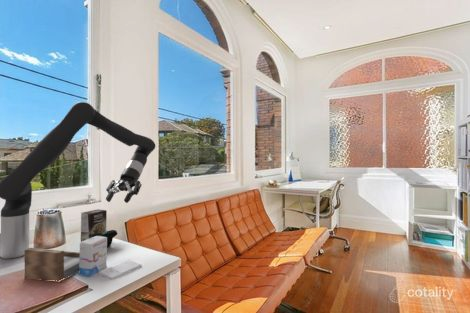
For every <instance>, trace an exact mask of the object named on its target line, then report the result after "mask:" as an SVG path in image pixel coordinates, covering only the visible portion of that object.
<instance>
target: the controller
mask: <svg viewBox="0 0 470 313" xmlns="http://www.w3.org/2000/svg"><path fill="white" fill-rule="evenodd" d="M98 231H99V230H94V231H93V232H95V233H93V234H92V235H90V236H89V238H92V237H95V236H102V237H107V250H108V249H109V248H110V247H111V245H112V243H113V239H114V237H116V236H117V235H118V231H117V230H115V229H110V230H106V232H101V233H98Z"/></svg>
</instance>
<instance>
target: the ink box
mask: <svg viewBox="0 0 470 313" xmlns="http://www.w3.org/2000/svg"><path fill="white" fill-rule="evenodd" d="M107 250H108V249H107V237H102V236H95V237H92V238H89V239H87V240H84V241H82V242H81V241H80V243H79V252H80V260H79V271H78V275H79V276H86V277H92V276H93V275H95V274H98V272H100V271H102V270H104V268H105V269H106V267H107V258H108V257H107V254H108V253H107V252H108V251H107Z"/></svg>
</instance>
